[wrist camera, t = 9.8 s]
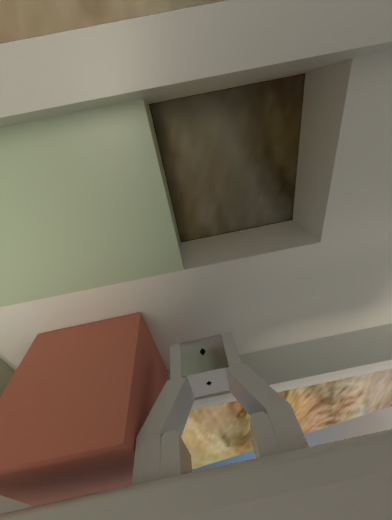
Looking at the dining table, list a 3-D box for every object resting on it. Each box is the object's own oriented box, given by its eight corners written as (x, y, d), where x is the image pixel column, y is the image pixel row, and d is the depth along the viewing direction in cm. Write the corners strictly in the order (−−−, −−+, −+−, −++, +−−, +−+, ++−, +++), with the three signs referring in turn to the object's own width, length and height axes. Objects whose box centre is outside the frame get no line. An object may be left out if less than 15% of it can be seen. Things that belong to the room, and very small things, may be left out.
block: (37, 334, 10) (-49, 479, 6) (140, 312, 10) (123, 443, 6) (85, 386, 13) (48, 511, 9) (166, 369, 13) (167, 485, 9)
